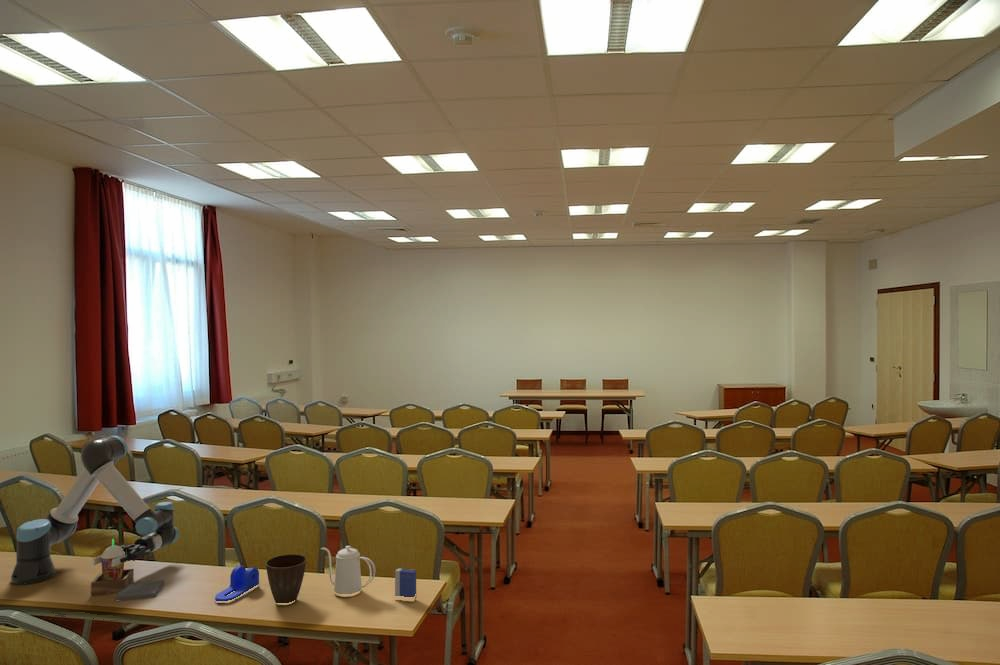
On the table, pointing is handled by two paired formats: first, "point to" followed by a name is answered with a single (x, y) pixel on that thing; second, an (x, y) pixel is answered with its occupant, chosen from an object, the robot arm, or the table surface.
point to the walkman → (405, 582)
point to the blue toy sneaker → (239, 583)
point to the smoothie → (106, 561)
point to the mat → (140, 590)
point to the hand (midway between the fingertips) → (103, 562)
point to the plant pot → (286, 576)
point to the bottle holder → (111, 583)
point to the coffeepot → (348, 571)
